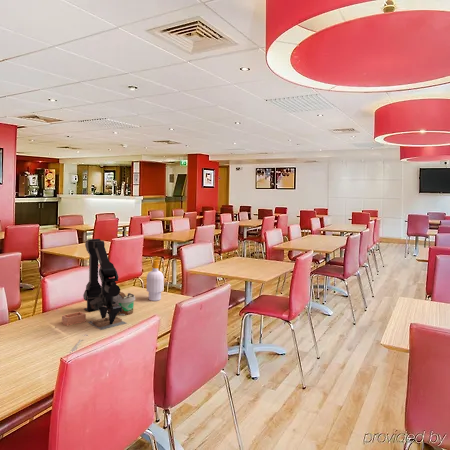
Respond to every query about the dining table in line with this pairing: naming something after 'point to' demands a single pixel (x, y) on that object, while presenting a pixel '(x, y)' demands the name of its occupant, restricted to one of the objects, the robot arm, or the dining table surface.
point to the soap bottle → (155, 282)
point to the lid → (105, 321)
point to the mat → (108, 325)
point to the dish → (73, 318)
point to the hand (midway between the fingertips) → (107, 322)
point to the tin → (118, 297)
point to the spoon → (77, 344)
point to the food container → (127, 304)
